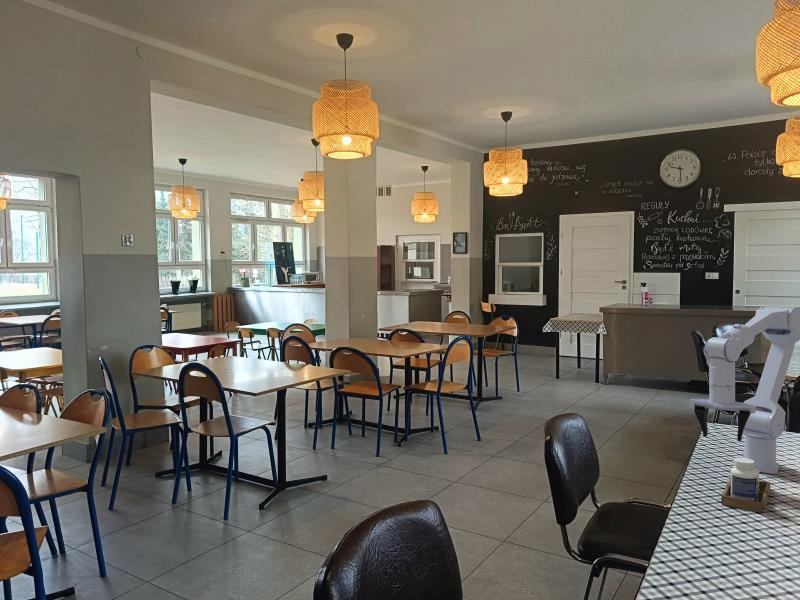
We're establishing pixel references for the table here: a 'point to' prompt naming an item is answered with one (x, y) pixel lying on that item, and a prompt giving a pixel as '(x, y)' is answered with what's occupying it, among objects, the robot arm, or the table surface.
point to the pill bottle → (744, 479)
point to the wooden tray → (744, 502)
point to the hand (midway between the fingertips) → (722, 438)
